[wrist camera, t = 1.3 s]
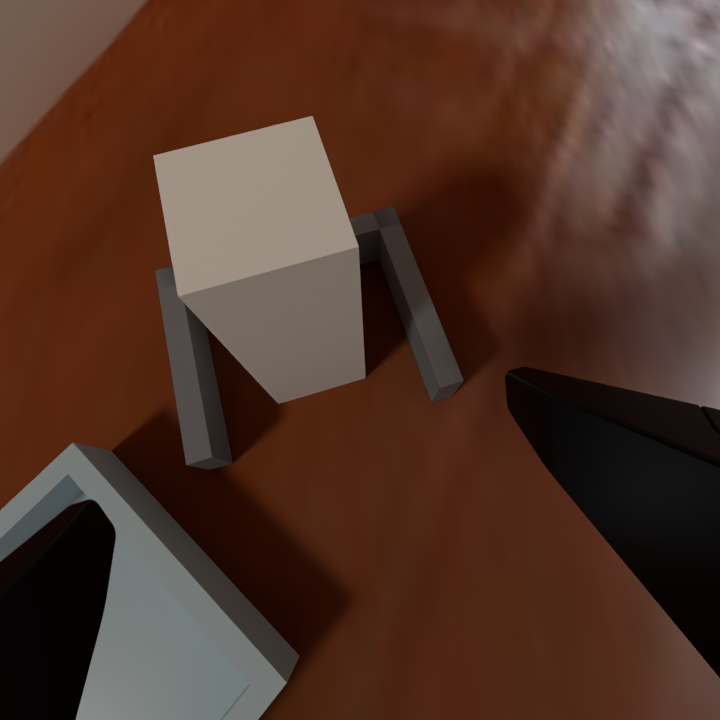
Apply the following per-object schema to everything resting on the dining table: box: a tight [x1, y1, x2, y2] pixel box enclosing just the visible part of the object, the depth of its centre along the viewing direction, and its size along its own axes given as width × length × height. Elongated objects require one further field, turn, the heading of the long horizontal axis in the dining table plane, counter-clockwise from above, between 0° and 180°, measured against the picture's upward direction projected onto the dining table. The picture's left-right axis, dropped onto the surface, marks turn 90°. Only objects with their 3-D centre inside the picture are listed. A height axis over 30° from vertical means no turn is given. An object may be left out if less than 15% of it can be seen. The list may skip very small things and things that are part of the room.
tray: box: [0, 443, 300, 720], centre depth 18 cm, size 14×14×3 cm
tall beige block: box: [153, 116, 366, 404], centre depth 18 cm, size 6×5×12 cm
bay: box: [155, 206, 464, 470], centre depth 23 cm, size 11×13×3 cm
